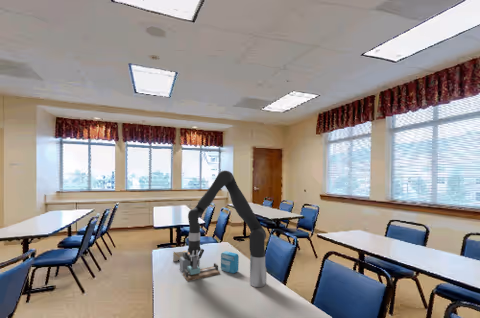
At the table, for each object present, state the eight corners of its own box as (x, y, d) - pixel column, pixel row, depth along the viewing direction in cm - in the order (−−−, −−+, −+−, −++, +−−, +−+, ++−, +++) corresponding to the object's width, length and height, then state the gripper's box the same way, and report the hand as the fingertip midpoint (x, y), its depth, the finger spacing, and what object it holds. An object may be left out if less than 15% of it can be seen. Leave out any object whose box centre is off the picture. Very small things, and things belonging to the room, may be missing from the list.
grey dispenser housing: (195, 265, 170) (195, 249, 171) (199, 269, 163) (200, 253, 164) (179, 268, 164) (179, 252, 165) (182, 272, 157) (183, 256, 157)
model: (187, 261, 178) (188, 251, 179) (173, 263, 174) (173, 252, 175) (187, 259, 181) (187, 249, 182) (173, 261, 177) (173, 251, 178)
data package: (220, 270, 162) (220, 252, 163) (224, 267, 166) (224, 250, 167) (234, 274, 156) (235, 255, 157) (238, 271, 160) (238, 254, 160)
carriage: (196, 269, 157) (196, 253, 157) (200, 273, 151) (200, 257, 151) (187, 270, 154) (187, 255, 154) (191, 274, 148) (191, 258, 148)
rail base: (213, 268, 165) (213, 261, 165) (219, 273, 156) (219, 266, 156) (182, 275, 153) (183, 268, 154) (187, 281, 145) (187, 273, 145)
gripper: (202, 236, 160) (201, 262, 159) (182, 239, 153) (181, 266, 152) (206, 239, 154) (205, 265, 153) (185, 242, 147) (185, 270, 146)
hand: (193, 265), depth 152 cm, fingers closed on carriage, 2 cm apart
